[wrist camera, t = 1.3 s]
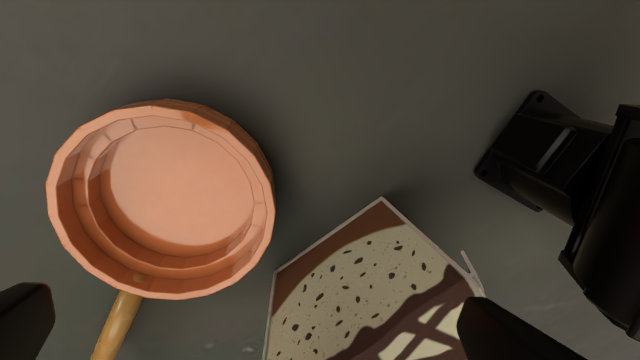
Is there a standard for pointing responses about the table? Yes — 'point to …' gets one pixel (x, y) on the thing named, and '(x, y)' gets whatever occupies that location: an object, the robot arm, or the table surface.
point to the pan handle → (117, 323)
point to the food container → (369, 295)
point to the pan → (163, 199)
